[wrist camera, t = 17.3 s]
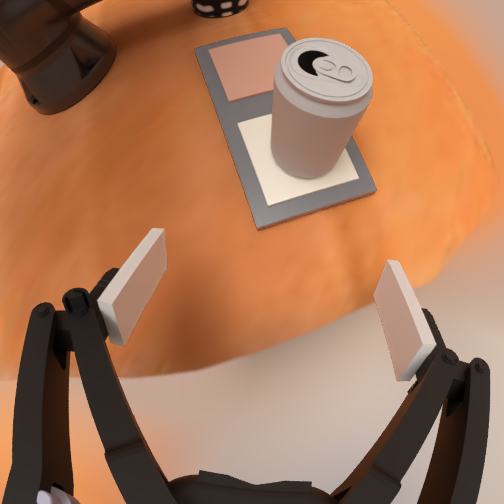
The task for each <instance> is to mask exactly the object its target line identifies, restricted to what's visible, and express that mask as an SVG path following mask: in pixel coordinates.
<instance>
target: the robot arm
mask: <svg viewBox="0 0 504 504" xmlns="http://www.w3.org/2000/svg"><path fill="white" fill-rule="evenodd" d="M100 1H102V0H0V60H1V61H2V62H3V63H5V64H6V65H7V66H8V67H9V68H10V69H11V70H12V71H13V72H14V73H15V74H16V75H17V77H18V80H19V82H20V85H21V87H22V89H23V92H24V94H25V96H26V98H27V101H28V102H29V104H30V105H31V106H32V107H33V108H34V109H36V110H37V111H38V112H39V113H41V114H54V113H57V112H60V111H62V110H65V109H67V108H68V107H70V106H72V105H73V104H75V103H76V102H78V101H79V100H81V99H82V98H83V97H84V96H86V95H87V94H88V93H89V92H90V91H91V90H92V89H93V88H94V87H95V86H96V85H97V84H98V83H99V82H100V81H101V80H102V78H103V77H104V76H105V75H106V73H107V72H108V70H109V69H110V67H111V65H112V63H113V61H114V58H115V53H116V49H115V45H114V43H113V41H112V40H111V38H110V36H109V35H108V34H107V33H106V32H105V31H103V30H102V29H100V28H99V27H97V26H96V25H94V24H93V23H91V22H90V21H88V20H87V19H85V18H84V17H83V16H82V15H81V13H80V12H79V11H81V10H83V9H85V8H87V7H89V6H91V5H93V4H96V3H98V2H100ZM166 269H167V255H166V241H165V229H161V228H152V229H151V230H150V232H149V233H148V234H147V235H146V237H145V238H144V239H143V240H142V242H141V243H140V244H139V245H138V247H137V248H136V249H135V250H134V252H133V253H132V254H131V255H130V257H129V258H128V259H127V261H126V262H125V263H124V265H123V266H122V267H121V269H118V268H112V269H111V270H109V271H107V272H106V273H105V274H104V275H103V277H102V278H101V280H100V281H99V282H98V283H97V285H96V286H95V287H94V288H93V290H92V291H91V292H90V294H89V293H88V291H87V290H86V289H84V288H73V289H71V290H69V291H68V292H66V293H65V294H64V296H63V298H62V302H63V305H64V307H65V310H64V311H55V308H54V306H53V305H52V304H51V303H47V302H44V303H40V304H39V305H37V306H36V307H35V308H34V309H33V310H32V312H31V316H30V320H29V324H28V328H27V332H26V337H25V341H24V346H23V351H22V356H21V362H20V368H19V374H18V381H17V388H16V389H17V390H16V397H15V407H14V419H13V439H12V440H13V441H12V466H11V470H10V473H9V477H8V481H7V485H6V488H5V493H4V497H3V501H2V504H80V503H79V501H78V500H77V499H76V498H74V497H73V488H74V484H73V471H72V463H71V451H70V437H69V409H68V408H69V407H68V406H69V404H68V403H69V400H68V399H69V398H68V397H69V396H68V394H69V366H70V351H75V356H76V360H77V364H78V368H79V372H80V376H81V380H82V383H83V387H84V390H85V394H86V397H87V400H88V404H89V407H90V410H91V413H92V416H93V419H94V422H95V425H96V427H97V430H98V433H99V435H100V438H101V441H102V443H103V446H104V449H105V458H106V461H107V464H108V466H109V468H110V471H111V473H112V475H113V477H114V480H115V482H116V484H117V486H118V488H119V490H120V492H121V494H122V496H123V498H124V500H125V502H126V504H390V503H391V502H392V501H393V499H394V498H395V496H396V495H397V493H398V492H399V490H400V488H401V483H400V482H401V479H402V478H403V476H404V475H405V473H406V472H407V470H408V468H409V467H410V465H411V463H412V462H413V460H414V459H415V457H416V455H417V454H418V452H419V450H420V448H421V446H422V445H423V443H424V441H425V439H426V437H427V435H428V434H429V432H430V430H431V428H432V426H433V424H434V422H435V420H436V418H437V416H438V413H439V411H440V409H441V407H442V405H443V407H442V413H441V418H440V424H439V428H438V433H437V438H436V442H435V446H434V450H433V454H432V458H431V461H430V465H429V469H428V472H427V475H426V478H425V482H424V485H423V488H422V491H421V494H420V497H419V499H418V502H417V504H476V502H477V498H478V493H479V489H480V484H481V479H482V474H483V468H484V462H485V455H486V447H487V438H488V428H489V412H490V369H489V366H488V364H487V363H486V362H485V361H484V360H483V359H481V358H474V359H473V360H472V361H471V362H470V363H466V362H462V361H459V359H458V356H457V355H456V353H455V352H453V351H452V350H450V349H448V348H446V346H445V344H444V341H443V339H442V337H441V334H440V332H439V330H438V327H437V325H436V324H435V321H434V318H433V316H432V315H431V314H430V312H429V311H428V310H427V309H423V308H421V307H420V305H419V302H418V300H417V298H416V296H415V294H414V292H413V289H412V287H411V285H410V283H409V281H408V279H407V277H406V275H405V273H404V271H403V269H402V267H401V265H400V263H399V261H395V260H389V259H387V262H386V264H385V267H384V270H383V272H382V275H381V277H380V280H379V282H378V285H377V287H376V290H375V292H374V295H373V296H374V299H375V303H376V306H377V309H378V312H379V316H380V319H381V322H382V326H383V329H384V333H385V336H386V340H387V344H388V347H389V351H390V355H391V359H392V363H393V367H394V371H395V375H396V380H397V381H410V380H411V378H412V377H413V376H414V375H415V374H416V378H417V381H416V382H415V383H414V384H413V386H412V387H411V388H410V389H409V391H408V395H407V397H406V398H405V400H404V401H403V403H402V404H401V406H400V408H399V409H398V411H397V412H396V414H395V415H394V417H393V418H392V420H391V421H390V423H389V424H388V426H387V427H386V429H385V430H384V432H383V433H382V434H381V436H380V437H379V439H378V440H377V441H376V443H375V444H374V445H373V447H372V448H371V449H370V451H369V452H368V453H367V454H366V456H365V457H364V458H363V460H362V461H361V462H360V463H359V465H358V466H357V467H356V468H355V469H354V471H353V472H352V473H351V474H350V475H349V477H348V478H347V479H346V480H345V481H344V482H343V483H342V484H341V485H340V486H339V487H338V488H337V489H336V490H334V492H332V493H331V495H329V494H328V493H326V492H324V491H322V490H320V489H318V488H315V487H311V484H312V482H306V481H305V482H304V481H302V482H300V481H281V482H275V483H267V484H260V485H254V484H250V483H248V482H245V481H242V480H239V479H237V478H234V477H231V476H229V475H224V474H218V473H212V472H207V471H202V470H200V471H199V475H188V476H183V477H179V478H177V479H174V480H172V481H170V482H168V480H167V478H166V477H165V475H164V473H163V472H162V470H161V468H160V466H159V465H158V463H157V462H156V460H155V458H154V456H153V454H152V452H151V450H150V448H149V446H148V444H147V442H146V440H145V439H144V436H143V434H142V432H141V430H140V428H139V426H138V424H137V422H136V420H135V417H134V415H133V413H132V411H131V408H130V406H129V404H128V401H127V399H126V397H125V394H124V392H123V389H122V387H121V384H120V382H119V379H118V376H117V374H116V371H115V368H114V366H113V363H112V360H111V357H110V354H109V352H108V349H107V346H106V343H105V340H106V338H107V336H109V338H110V341H111V343H114V344H117V345H121V346H124V347H125V345H126V343H127V341H128V339H129V337H130V335H131V333H132V331H133V329H134V328H135V326H136V324H137V322H138V320H139V318H140V316H141V314H142V313H143V311H144V309H145V307H146V305H147V303H148V302H149V300H150V298H151V296H152V294H153V292H154V291H155V289H156V287H157V285H158V284H159V282H160V280H161V278H162V276H163V275H164V273H165V271H166Z"/></svg>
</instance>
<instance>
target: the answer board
mask: <svg viewBox="0 0 504 504" xmlns="http://www.w3.org/2000/svg"><path fill="white" fill-rule="evenodd" d="M294 42H296V40H295V39H294V37H293V36H292V35H291V33H290V32H289V30H288V29H287V28H280V29H274V30H269V31H263V32H258V33H253V34H248V35H244V36H239V37H235V38H231V39H227V40H223V41H219V42H215V43H212V44H208V45H205V46H201V47H198V48H195V49H194V50H195V54H196V57H197V59H198V62H199V65H200V68H201V70H202V73H203V76H204V79H205V82H206V84H207V87H208V90H209V93H210V95H211V98H212V101H213V104H214V107H215V110H216V112H217V115H218V118H219V121H220V124H221V126H222V129H223V132H224V135H225V138H226V141H227V144H228V146H229V149H230V152H231V155H232V158H233V161H234V164H235V166H236V169H237V172H238V175H239V178H240V181H241V184H242V187H243V190H244V192H245V195H246V198H247V201H248V204H249V207H250V210H251V213H252V216H253V219H254V222H255V225H256V228H257V230H261V229H264V228H267V227H270V226H273V225H276V224H279V223H282V222H286V221H289V220H292V219H295V218H298V217H301V216H304V215H307V214H310V213H314V212H317V211H320V210H323V209H326V208H329V207H333V206H336V205H339V204H342V203H345V202H348V201H352V200H355V199H358V198H361V197H365V196H368V195H371V194H373V193H374V192H376V191H377V189H376V186H375V184H374V182H373V179H372V177H371V175H370V173H369V170H368V168H367V166H366V164H365V162H364V160H363V157H362V155H361V153H360V151H359V149H358V147H357V145H356V143H355V141H354V139H353V137H352V136H351V138H350V140H349V141H348V143H347V145H346V147H345V149H344V150H343V152H342V154H341V156H340V157H339V159H338V161H337V163H336V164H335V166H334V167H333V168H332V169H331V170H330V171H329V172H327V173H326V174H324V175H322V176H319V177H314V178H302V177H298V176H294V175H292V174H290V173H288V172H286V171H285V170H284V169H282V168H281V167H280V166H279V165H278V163H277V162H276V161H275V159H274V157H273V155H272V152H271V144H270V143H271V124H272V105H273V85H274V70H275V67H276V64H277V63H278V61H279V60H280V59H281V57H282V54H283V52H284V51H285V49H286V48H287V47H288V46H289V45H291V44H292V43H294Z"/></svg>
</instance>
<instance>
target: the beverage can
mask: <svg viewBox="0 0 504 504" xmlns="http://www.w3.org/2000/svg"><path fill="white" fill-rule="evenodd" d="M372 81H373V75H372V71H371V68H370V66H369V65H368V63H367V62H366V60H365V59H364V58H363V57H362V56H361V55H360V54H359V53H358V52H357V51H355V50H354V49H352V48H351V47H349V46H347V45H345V44H343V43H341V42H338V41H335V40H331V39H326V38H306V39H302V40H299V41H296V42H294V43H292V44H291V45H289V46H288V47H287V48H286V49H285V51H284V52H283V54H282V57H281V59H280V60H279V61H278V63H277V64H276V67H275V70H274V85H273V105H272V124H271V143H270V144H271V152H272V155H273V157H274V159H275V161H276V162H277V163H278V165H279V166H280V167H281V168H282V169H284V170H285V171H286V172H288V173H290V174H292V175H294V176H298V177H302V178H314V177H319V176H322V175H324V174H326V173H327V172H329V171H330V170H331V169H332V168H333V167H334V166H335V164H336V163H337V161H338V159H339V157H340V156H341V154H342V152H343V150H344V149H345V147H346V145H347V143H348V141H349V140H350V138H351V136H352V134H353V132H354V130H355V129H356V127H357V125H358V123H359V121H360V120H361V118H362V116H363V114H364V112H365V110H366V109H367V107H368V105H369V103H370V101H371V98H372V93H373V90H372Z"/></svg>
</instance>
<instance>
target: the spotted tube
mask: <svg viewBox="0 0 504 504" xmlns="http://www.w3.org/2000/svg"><path fill="white" fill-rule="evenodd" d="M191 3H192V8H193V10H194V12H196V13H197V14H199V15H202V16H208V17H222V16H228V15H232V14H235V13H238V12H240V11H242V10H243V9H245V8H246V6H247V5H248V0H191Z"/></svg>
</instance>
